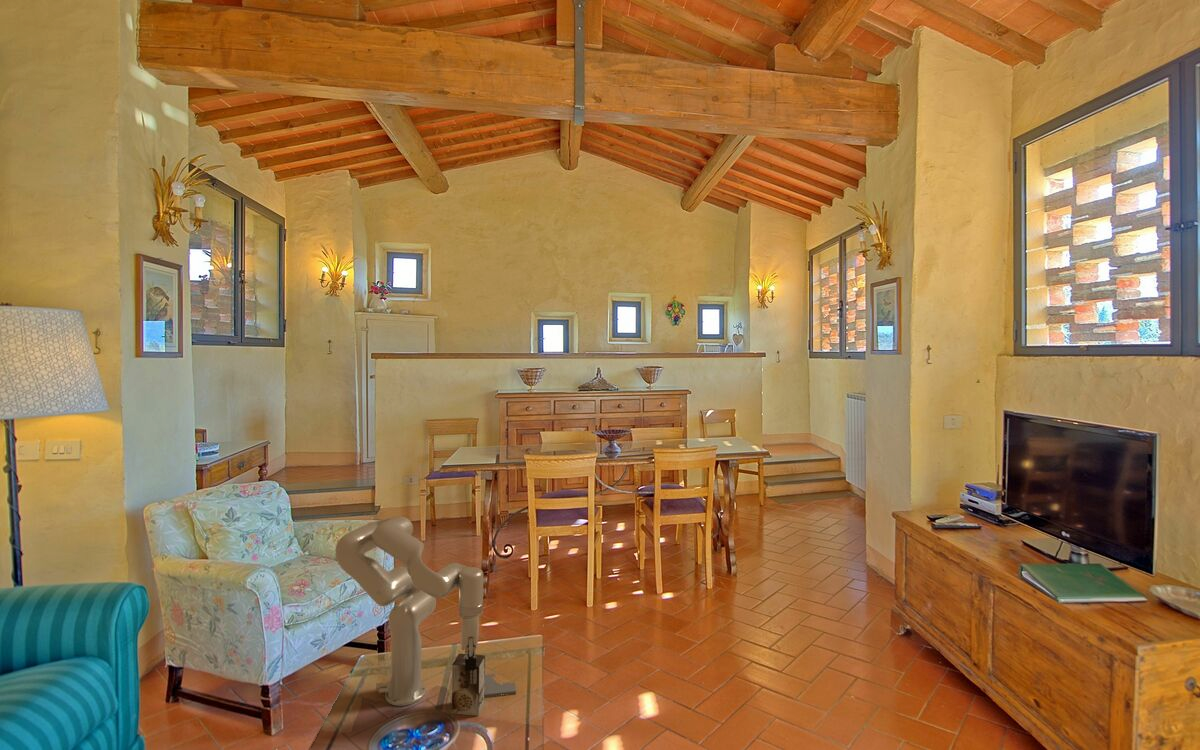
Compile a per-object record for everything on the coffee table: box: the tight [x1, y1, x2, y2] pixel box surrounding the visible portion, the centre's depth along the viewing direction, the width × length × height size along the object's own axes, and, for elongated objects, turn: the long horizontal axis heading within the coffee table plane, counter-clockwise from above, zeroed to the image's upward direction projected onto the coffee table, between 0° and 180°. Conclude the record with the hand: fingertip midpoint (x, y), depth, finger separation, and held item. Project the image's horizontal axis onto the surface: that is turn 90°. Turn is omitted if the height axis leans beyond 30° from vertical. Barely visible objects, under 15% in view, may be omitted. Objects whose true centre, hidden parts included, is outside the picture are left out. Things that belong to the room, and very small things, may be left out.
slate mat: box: [484, 673, 517, 699], centre depth 186 cm, size 11×11×1 cm
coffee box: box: [451, 653, 486, 717], centre depth 174 cm, size 9×6×16 cm
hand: (470, 661), depth 173 cm, fingers open, 9 cm apart
